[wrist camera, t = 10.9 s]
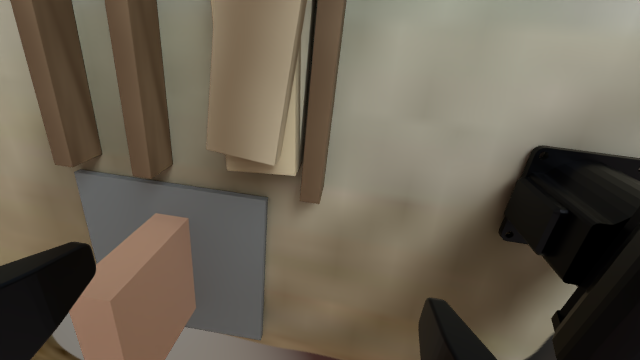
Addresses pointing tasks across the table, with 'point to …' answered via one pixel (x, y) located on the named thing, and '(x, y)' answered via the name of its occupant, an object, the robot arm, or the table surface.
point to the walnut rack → (149, 84)
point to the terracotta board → (139, 294)
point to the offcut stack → (260, 83)
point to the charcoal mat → (205, 236)
